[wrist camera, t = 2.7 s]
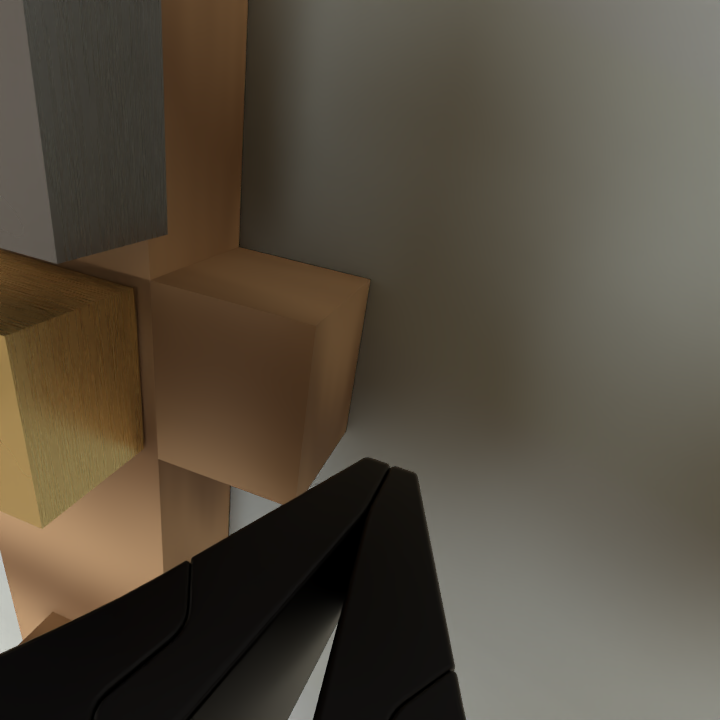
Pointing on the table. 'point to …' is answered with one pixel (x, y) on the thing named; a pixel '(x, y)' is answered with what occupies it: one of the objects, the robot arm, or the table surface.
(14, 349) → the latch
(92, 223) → the cap plate
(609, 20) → the table surface
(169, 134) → the plane body
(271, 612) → the robot arm
